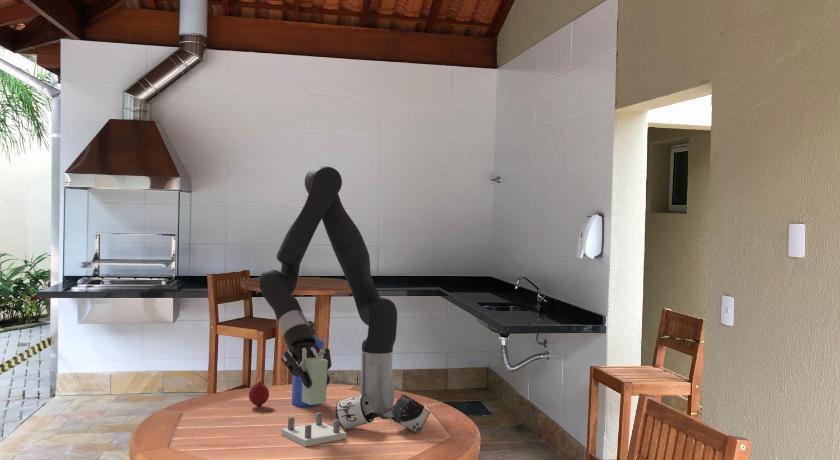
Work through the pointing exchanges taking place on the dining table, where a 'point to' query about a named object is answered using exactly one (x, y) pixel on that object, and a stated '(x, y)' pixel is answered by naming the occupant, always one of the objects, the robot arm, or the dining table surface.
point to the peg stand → (313, 432)
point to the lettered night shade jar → (362, 413)
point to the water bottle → (297, 379)
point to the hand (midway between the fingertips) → (318, 385)
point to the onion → (259, 394)
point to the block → (315, 381)
